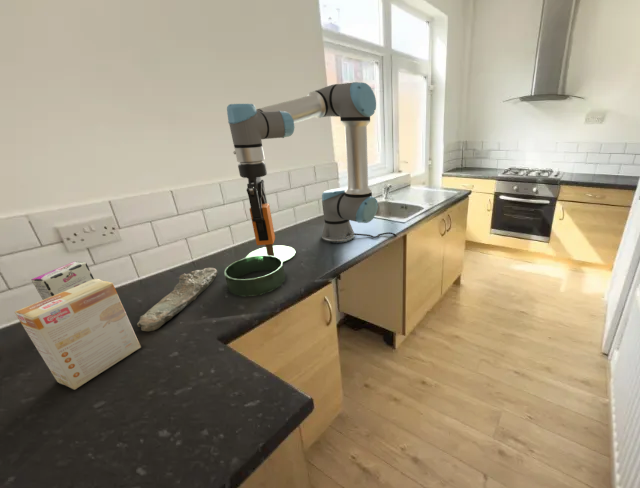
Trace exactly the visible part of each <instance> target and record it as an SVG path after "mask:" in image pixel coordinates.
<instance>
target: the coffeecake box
mask: <svg viewBox="0 0 640 488" xmlns="http://www.w3.org/2000/svg"><path fill="white" fill-rule="evenodd" d="M122 303H123V302H122V301H121V299H120V297H119V294H118V292H117V289H116V288H115V285H114V283H113V282H110V281H105V280H102V279H99V278H94V279H93V280H90V281H88V282H86V283H83V284H81V285H78V286H76V287H74V288H71V289H69V290H66V291H64V292H61V293H59V294H56V295H54V296H52V297H49V298H47V299H44V300H43V299H41V300H39V301H37V302H35V303H32V304H30V305H28V306H25V307H22V308H20V309H18V310H15V311H14V314H15V316H16V317H17V319H18V321H19V322H20V324H21V326H22V327H23V329H24V330H25V332H26V334H27V336H28V337H29V339H30V340H31V342H32V344H33V346H35V348H36V350H37V352H38V354H39V355H40V356H41V358H42V360H43V361H44V363H45V365H46V367H47V368H48V369H49V371H50V373H51V374H52V376H53V377H54V379H55V381H56V382H57V383H59V384H60V385H63V386H65V387H68V388H70V389H71V390H74V391H76V390H77V389H78V388H80V387H82V386H83V385H84V384H86V383H87V382H89V381H92V379H94V378H95V377H97V376H99V375H100V374H101V373H103V372H105V371H107V370H108V369H110V368H111V367H113V366H114V365H116V364H117V363H119V362H120V361H122V360H124V359H125V358H128V357H129V356H130V355H131V354H133V353H134V352H136V351H138V350H139V349H141V348H142V345H141V344H140V341H139V340H138V338H137V335H136V333H135V331H134V328H133V326H132V323H131V321H130V319H129V317H128V315H127V312H126V309H125V308H124V305H123V304H122Z"/></svg>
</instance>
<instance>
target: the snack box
mask: <svg viewBox="0 0 640 488" xmlns="http://www.w3.org/2000/svg"><path fill="white" fill-rule="evenodd" d="M262 209H263V216H264V220H265V222H266V228H267V233H268V239H269V240H266V241H259V237H258V232H257V227H256V222H253V221H252V220H253V217H252V212H251V206H250V207H249V214H250V219H251V224H252V228H253V233H254V239H255V243H256V246H265V245H268V244H273V245H274V244H275V243H274V242H275V240H276V235H275V234H276V233H275V228H274V224H273V223H274V222H273V217H272V212H271V207H270V203H269V202H267V203H266V204H262Z"/></svg>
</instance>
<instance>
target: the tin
mask: <svg viewBox="0 0 640 488" xmlns="http://www.w3.org/2000/svg"><path fill="white" fill-rule="evenodd" d="M284 267H285V266H284V263H283V262H282V260H281V259H280V258H278V257H275V256H268V255H261V256H253V257H248V258H246V257H244V258H242V259H238V260H236V261H234V262H232V263H230V264H229V265H227V266H226V267H225V269H224V272H223V273H224V278H225V281H226V286H227V289H228V291H229V292H230V294H232V295H235V296H238V297H239V296H241V297H253V296H259V295H263V294H266V293H269V292H272V291H274V290H276V289H278V288H279V287H281V286H282V285H283V284H284V282H285V281H286V274H285V273H286V272H285V268H284ZM259 271H272V272H270V273H268V274H265V275H263V276H258V277H252V278H245V279H244V278H240V277H242V276H244V275H247V274H250V273H254V272H259Z"/></svg>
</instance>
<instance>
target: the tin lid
mask: <svg viewBox="0 0 640 488" xmlns="http://www.w3.org/2000/svg"><path fill="white" fill-rule="evenodd" d="M296 254H297V253H296V250H295V248H293V247H292V246H287V245H274V243H273V244H268V245H264V246H263V247H261V248H256V249H255V250H252V251H251V252H249V253H248V254H247V255H246V256H245V258H248V257H253V256H261V255H268V256H275V257H278V258H280V259H281V260H282V262H283V264H284V263H287V262H289V261H291V260H292V259H293V258H294V257H295V256H296Z"/></svg>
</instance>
